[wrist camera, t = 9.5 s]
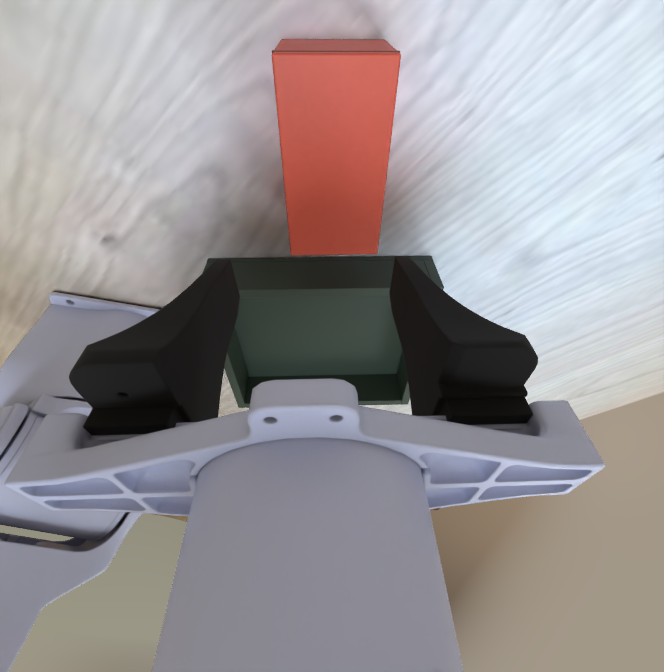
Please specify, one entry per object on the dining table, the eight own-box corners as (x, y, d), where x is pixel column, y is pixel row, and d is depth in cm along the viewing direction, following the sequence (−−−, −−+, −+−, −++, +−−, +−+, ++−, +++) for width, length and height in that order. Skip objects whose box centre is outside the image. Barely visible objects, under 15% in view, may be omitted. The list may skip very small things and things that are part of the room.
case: (294, 218, 23) (290, 255, 19) (280, 38, 16) (270, 52, 13) (369, 217, 23) (377, 255, 20) (386, 38, 16) (402, 53, 13)
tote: (244, 376, 35) (238, 408, 33) (207, 258, 25) (195, 290, 22) (401, 373, 35) (408, 404, 33) (431, 255, 25) (444, 287, 22)
